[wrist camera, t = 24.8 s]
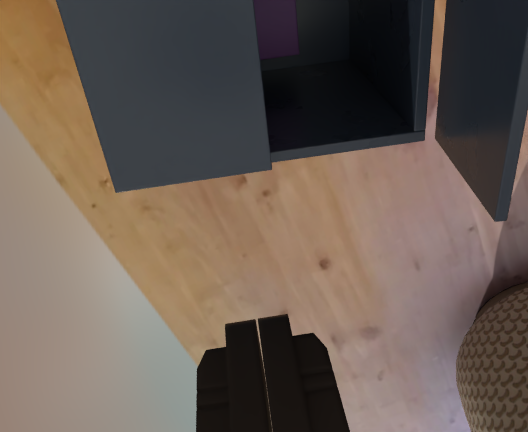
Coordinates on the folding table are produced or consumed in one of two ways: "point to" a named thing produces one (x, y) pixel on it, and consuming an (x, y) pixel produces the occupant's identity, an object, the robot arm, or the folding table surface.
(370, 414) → the folding table surface
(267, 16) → the block
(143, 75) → the box flap
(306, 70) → the bin
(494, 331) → the planter
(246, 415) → the robot arm
